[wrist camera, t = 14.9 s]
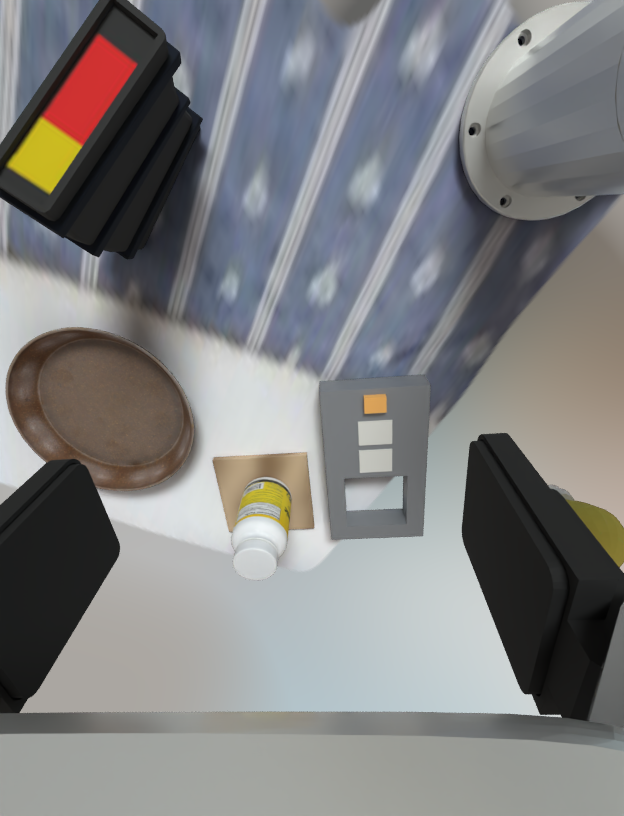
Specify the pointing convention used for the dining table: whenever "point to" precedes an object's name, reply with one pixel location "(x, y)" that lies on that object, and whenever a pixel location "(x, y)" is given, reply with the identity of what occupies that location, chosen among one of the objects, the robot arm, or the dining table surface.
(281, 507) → the supplement bottle
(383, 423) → the grey panel with buttons
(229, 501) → the cork mat
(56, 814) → the robot arm
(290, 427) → the dining table surface
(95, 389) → the plant saucer
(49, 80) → the magazine
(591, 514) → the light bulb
